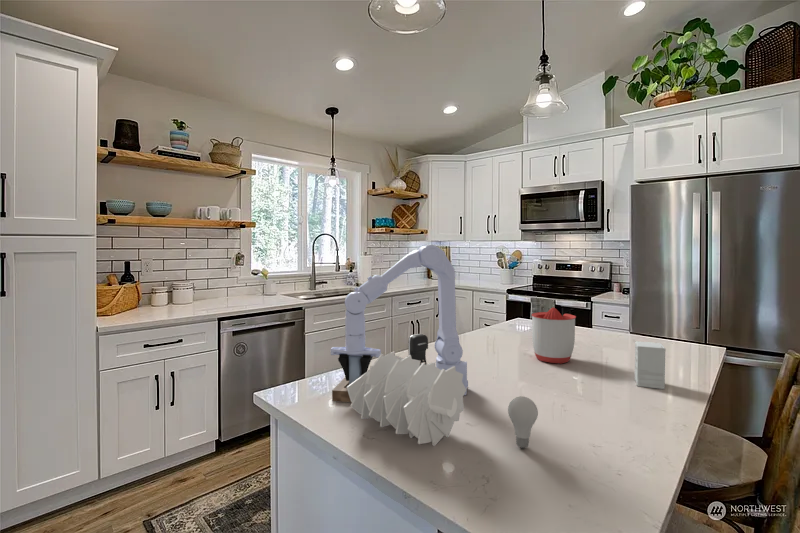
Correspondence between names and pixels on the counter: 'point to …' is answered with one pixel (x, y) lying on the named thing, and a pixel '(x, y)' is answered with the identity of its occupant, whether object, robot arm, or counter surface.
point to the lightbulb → (522, 418)
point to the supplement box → (650, 364)
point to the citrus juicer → (553, 336)
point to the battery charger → (418, 347)
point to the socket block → (341, 392)
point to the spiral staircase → (410, 397)
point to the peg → (354, 368)
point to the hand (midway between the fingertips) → (355, 380)
